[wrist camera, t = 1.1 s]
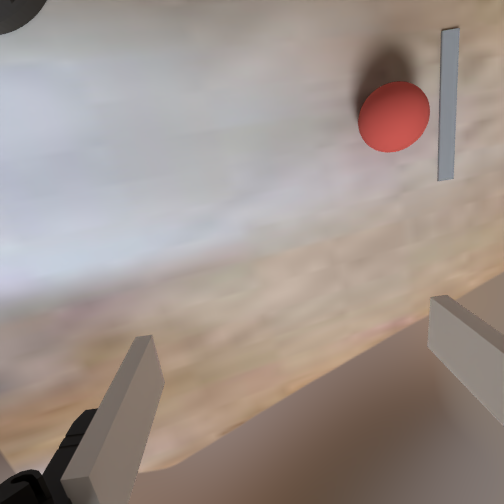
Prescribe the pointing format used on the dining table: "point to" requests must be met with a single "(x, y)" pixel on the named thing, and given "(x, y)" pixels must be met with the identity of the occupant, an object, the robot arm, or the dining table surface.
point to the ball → (394, 116)
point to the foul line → (448, 103)
